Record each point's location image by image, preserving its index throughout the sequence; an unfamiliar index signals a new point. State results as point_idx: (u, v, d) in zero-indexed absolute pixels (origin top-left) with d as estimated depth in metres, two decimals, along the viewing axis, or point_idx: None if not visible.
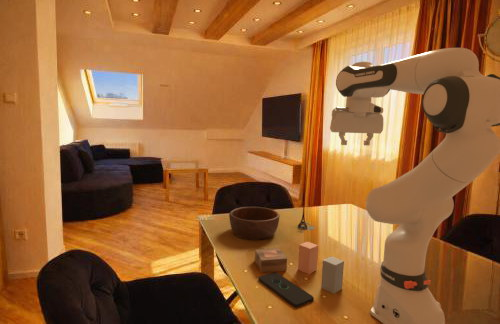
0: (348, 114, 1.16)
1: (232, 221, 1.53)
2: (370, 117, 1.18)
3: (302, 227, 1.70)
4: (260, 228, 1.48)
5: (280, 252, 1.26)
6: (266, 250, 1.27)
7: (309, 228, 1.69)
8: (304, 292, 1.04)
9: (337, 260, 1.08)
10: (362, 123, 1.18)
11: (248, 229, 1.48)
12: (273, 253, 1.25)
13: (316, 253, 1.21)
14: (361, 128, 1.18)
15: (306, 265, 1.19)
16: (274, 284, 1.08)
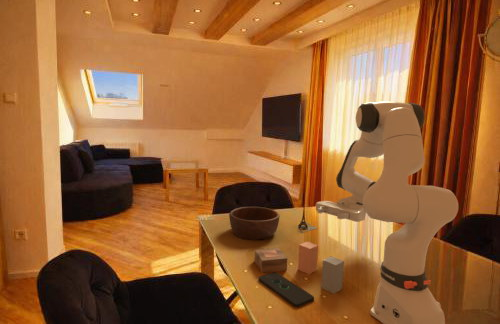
0: None
1: (232, 221, 1.53)
2: (351, 207, 1.31)
3: (302, 227, 1.70)
4: (260, 228, 1.48)
5: (280, 252, 1.26)
6: (266, 250, 1.27)
7: (309, 228, 1.69)
8: (304, 292, 1.04)
9: (337, 260, 1.08)
10: (342, 206, 1.32)
11: (248, 229, 1.48)
12: (273, 253, 1.25)
13: (316, 253, 1.21)
14: (338, 207, 1.31)
15: (306, 265, 1.19)
16: (275, 285, 1.08)
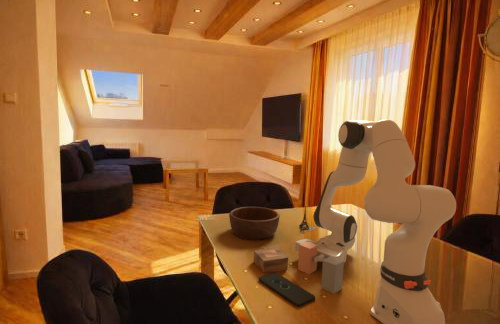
0: (314, 241, 1.31)
1: (232, 221, 1.53)
2: (331, 248, 1.24)
3: (304, 227, 1.70)
4: (260, 228, 1.48)
5: (279, 251, 1.27)
6: (265, 251, 1.27)
7: (311, 228, 1.69)
8: (305, 291, 1.04)
9: (337, 260, 1.08)
10: (321, 247, 1.25)
11: (248, 229, 1.48)
12: (273, 253, 1.25)
13: (316, 253, 1.21)
14: (318, 248, 1.24)
15: (306, 265, 1.19)
16: (275, 285, 1.08)
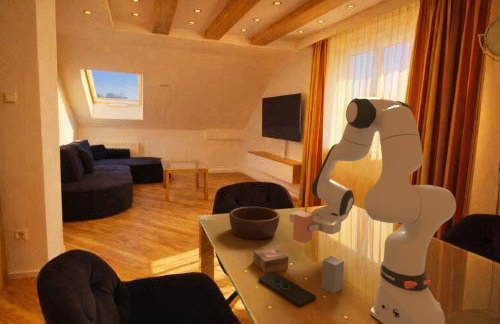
0: None
1: (232, 221, 1.53)
2: (326, 218, 1.25)
3: None
4: (260, 228, 1.48)
5: (279, 251, 1.27)
6: (265, 251, 1.27)
7: None
8: (306, 291, 1.04)
9: (337, 260, 1.08)
10: (316, 218, 1.25)
11: (248, 229, 1.48)
12: (273, 253, 1.25)
13: (311, 222, 1.21)
14: None
15: (301, 234, 1.19)
16: (275, 285, 1.08)
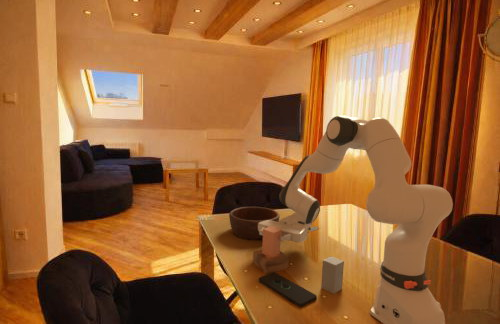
0: None
1: (232, 221, 1.53)
2: (293, 226, 1.29)
3: None
4: None
5: None
6: None
7: (312, 228, 1.68)
8: (306, 291, 1.05)
9: (337, 260, 1.08)
10: (284, 227, 1.28)
11: (248, 229, 1.48)
12: None
13: None
14: (281, 227, 1.27)
15: (270, 249, 1.21)
16: (276, 285, 1.08)
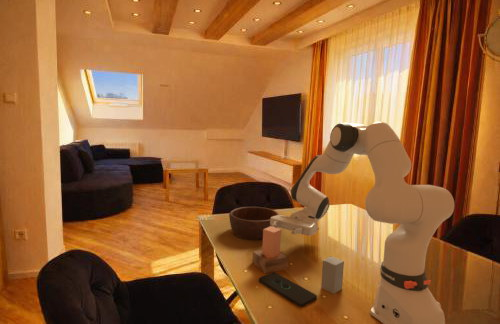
0: (287, 216, 1.42)
1: (232, 221, 1.53)
2: (304, 220, 1.36)
3: None
4: (260, 228, 1.48)
5: None
6: None
7: None
8: (306, 291, 1.05)
9: (337, 260, 1.08)
10: (295, 221, 1.36)
11: (248, 229, 1.48)
12: None
13: (280, 237, 1.23)
14: (292, 221, 1.35)
15: (270, 249, 1.21)
16: (276, 285, 1.08)
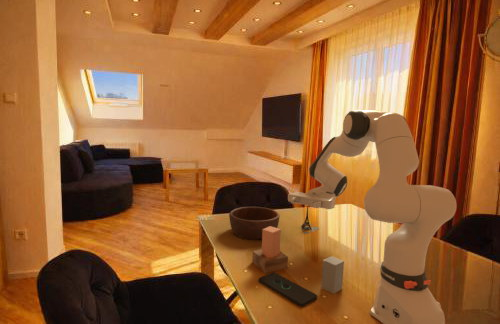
0: (304, 193, 1.44)
1: (232, 221, 1.53)
2: (322, 196, 1.38)
3: (306, 228, 1.69)
4: (260, 228, 1.48)
5: None
6: None
7: (313, 229, 1.68)
8: (307, 291, 1.05)
9: (337, 260, 1.08)
10: (313, 196, 1.38)
11: (248, 229, 1.48)
12: None
13: (279, 237, 1.23)
14: (310, 196, 1.37)
15: (269, 249, 1.21)
16: (276, 285, 1.08)
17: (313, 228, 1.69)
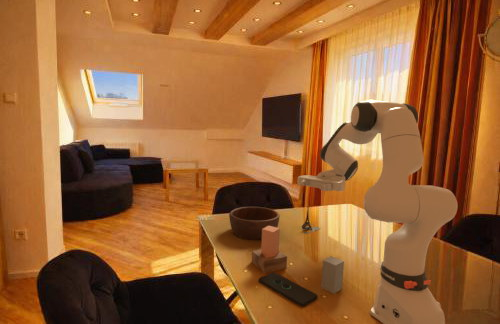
0: (314, 176, 1.44)
1: (232, 221, 1.53)
2: (332, 178, 1.38)
3: (306, 228, 1.69)
4: (260, 228, 1.48)
5: None
6: None
7: (314, 229, 1.68)
8: (307, 291, 1.05)
9: (337, 260, 1.08)
10: (323, 179, 1.38)
11: (248, 229, 1.48)
12: None
13: (278, 236, 1.24)
14: (320, 179, 1.37)
15: (269, 248, 1.22)
16: (276, 285, 1.08)
17: (314, 228, 1.69)
